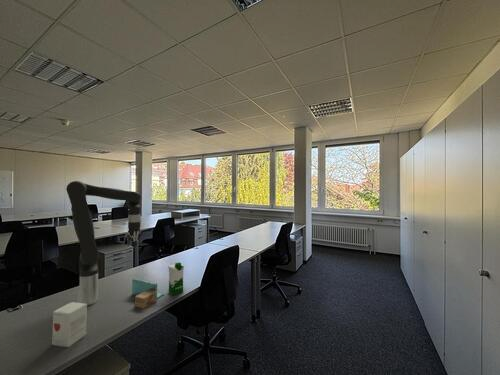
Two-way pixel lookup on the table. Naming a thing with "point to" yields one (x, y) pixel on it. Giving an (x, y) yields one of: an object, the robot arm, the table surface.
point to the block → (145, 298)
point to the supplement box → (69, 324)
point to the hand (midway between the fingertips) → (134, 246)
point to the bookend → (144, 287)
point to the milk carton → (176, 278)
